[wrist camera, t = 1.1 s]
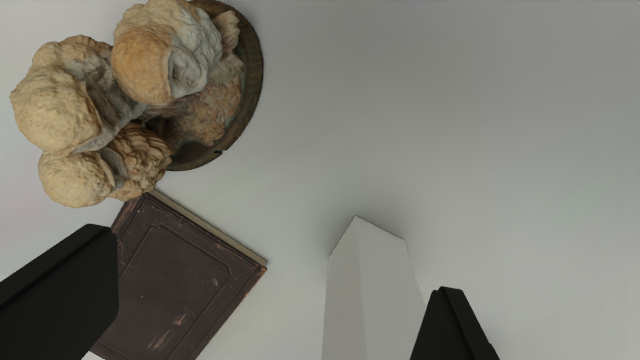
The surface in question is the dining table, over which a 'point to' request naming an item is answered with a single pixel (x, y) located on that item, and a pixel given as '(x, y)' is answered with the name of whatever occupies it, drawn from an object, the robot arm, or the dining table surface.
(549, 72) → the dining table surface
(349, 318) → the milk
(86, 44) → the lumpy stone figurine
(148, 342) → the hardcover book
